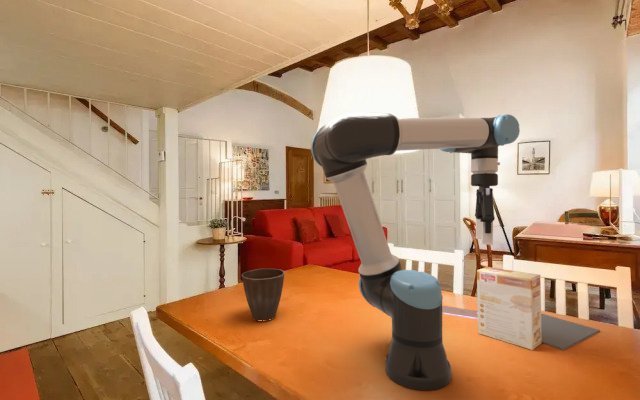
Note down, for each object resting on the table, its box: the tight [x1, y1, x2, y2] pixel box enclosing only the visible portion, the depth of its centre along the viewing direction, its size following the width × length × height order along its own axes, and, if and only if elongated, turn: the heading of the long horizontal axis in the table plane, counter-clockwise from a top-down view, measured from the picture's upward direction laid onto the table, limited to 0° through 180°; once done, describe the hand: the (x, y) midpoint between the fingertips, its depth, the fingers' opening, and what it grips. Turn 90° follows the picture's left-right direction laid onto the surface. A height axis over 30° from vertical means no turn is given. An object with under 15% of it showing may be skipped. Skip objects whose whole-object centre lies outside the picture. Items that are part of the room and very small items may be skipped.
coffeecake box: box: [476, 266, 543, 351], centre depth 96 cm, size 15×7×20 cm, turn 39°
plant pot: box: [241, 268, 285, 321], centre depth 116 cm, size 15×15×16 cm
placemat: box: [541, 313, 601, 351], centre depth 103 cm, size 22×22×1 cm
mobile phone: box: [442, 305, 478, 320], centre depth 116 cm, size 8×1×15 cm
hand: (483, 241), depth 102 cm, fingers open, 13 cm apart
